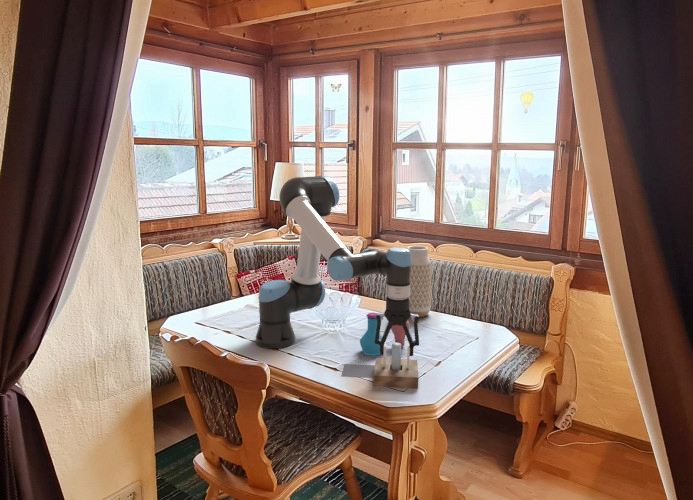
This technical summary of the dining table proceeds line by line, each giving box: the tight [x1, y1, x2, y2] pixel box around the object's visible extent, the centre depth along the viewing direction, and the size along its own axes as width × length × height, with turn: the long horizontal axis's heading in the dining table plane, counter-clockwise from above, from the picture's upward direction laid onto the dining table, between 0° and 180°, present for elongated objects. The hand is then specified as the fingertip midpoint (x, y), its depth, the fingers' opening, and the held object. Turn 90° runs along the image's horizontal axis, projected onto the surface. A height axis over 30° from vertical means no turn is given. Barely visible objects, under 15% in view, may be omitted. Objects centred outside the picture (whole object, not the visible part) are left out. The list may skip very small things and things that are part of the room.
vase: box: [406, 245, 432, 318], centre depth 236 cm, size 14×14×31 cm
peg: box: [391, 342, 402, 370], centre depth 173 cm, size 3×3×12 cm
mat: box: [340, 363, 375, 379], centre depth 179 cm, size 12×10×1 cm
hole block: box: [373, 357, 419, 389], centre depth 174 cm, size 14×14×4 cm
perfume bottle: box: [359, 312, 386, 356], centre depth 194 cm, size 9×9×15 cm
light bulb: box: [390, 320, 411, 348], centre depth 200 cm, size 7×7×12 cm
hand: (396, 364), depth 173 cm, fingers open, 7 cm apart
